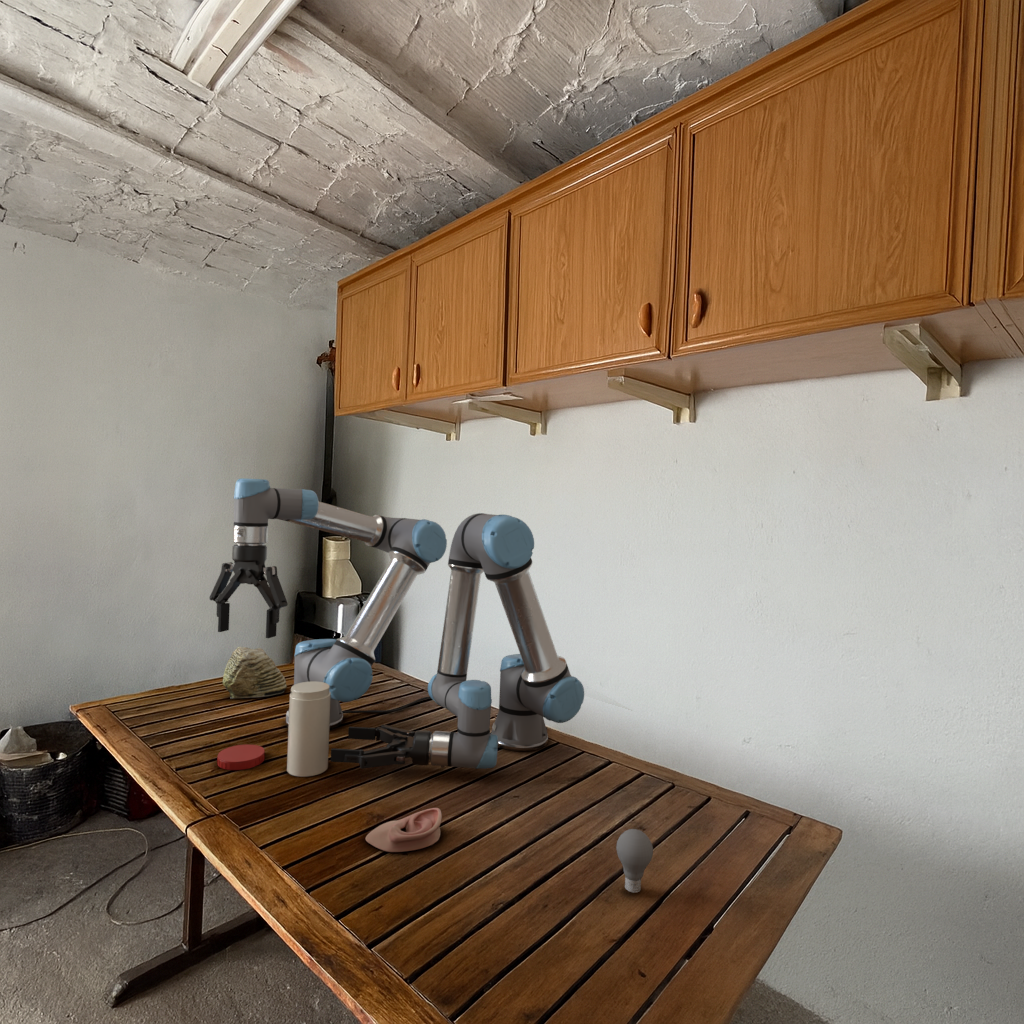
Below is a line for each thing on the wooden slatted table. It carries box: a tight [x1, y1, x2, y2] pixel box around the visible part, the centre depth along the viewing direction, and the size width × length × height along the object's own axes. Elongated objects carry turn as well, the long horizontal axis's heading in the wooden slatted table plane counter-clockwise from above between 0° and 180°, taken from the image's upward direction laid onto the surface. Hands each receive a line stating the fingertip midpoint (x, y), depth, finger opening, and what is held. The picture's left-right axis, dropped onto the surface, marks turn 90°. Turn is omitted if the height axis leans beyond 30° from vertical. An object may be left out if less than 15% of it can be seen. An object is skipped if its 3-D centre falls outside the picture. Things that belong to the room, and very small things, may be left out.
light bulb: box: [615, 828, 654, 894], centre depth 106 cm, size 6×6×10 cm
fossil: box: [222, 646, 288, 699], centre depth 198 cm, size 9×18×15 cm, turn 132°
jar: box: [286, 681, 331, 778], centre depth 147 cm, size 9×9×19 cm
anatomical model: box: [364, 807, 443, 853], centre depth 119 cm, size 13×4×12 cm
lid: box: [216, 744, 266, 771], centre depth 150 cm, size 10×10×2 cm
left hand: (246, 634), depth 149 cm, fingers open, 13 cm apart
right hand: (340, 743), depth 147 cm, fingers open, 13 cm apart
